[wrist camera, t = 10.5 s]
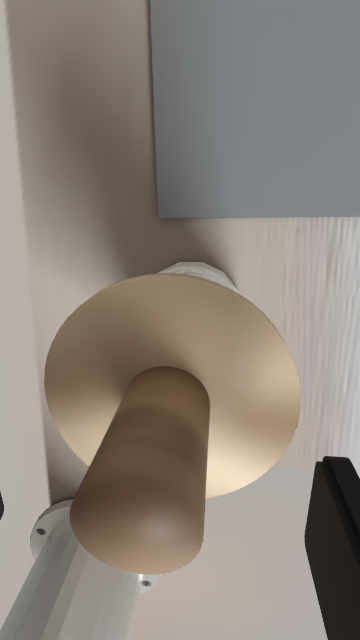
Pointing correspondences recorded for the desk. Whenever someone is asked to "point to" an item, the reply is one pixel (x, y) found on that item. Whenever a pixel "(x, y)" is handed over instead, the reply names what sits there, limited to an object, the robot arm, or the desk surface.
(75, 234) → the desk surface
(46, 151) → the desk surface
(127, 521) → the lid
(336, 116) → the mat
